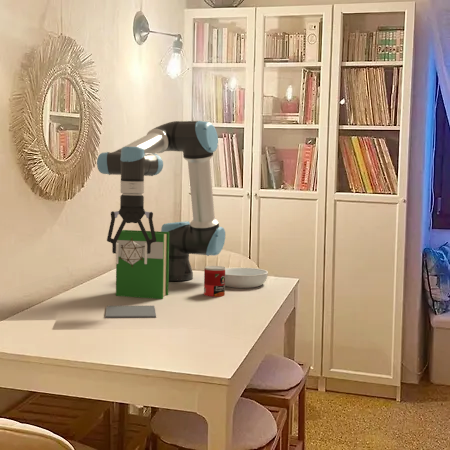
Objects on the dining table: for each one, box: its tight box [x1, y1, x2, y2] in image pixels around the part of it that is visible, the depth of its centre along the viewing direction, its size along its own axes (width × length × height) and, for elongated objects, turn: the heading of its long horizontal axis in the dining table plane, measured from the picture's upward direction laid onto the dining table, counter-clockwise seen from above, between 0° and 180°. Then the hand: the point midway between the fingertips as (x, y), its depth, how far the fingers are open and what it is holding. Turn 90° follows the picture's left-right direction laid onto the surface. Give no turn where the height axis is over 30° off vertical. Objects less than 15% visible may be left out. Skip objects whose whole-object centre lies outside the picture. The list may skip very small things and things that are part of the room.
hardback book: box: [115, 229, 169, 300], centre depth 260 cm, size 18×7×24 cm, turn 78°
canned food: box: [203, 265, 226, 298], centre depth 264 cm, size 8×8×11 cm
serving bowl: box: [225, 267, 269, 289], centre depth 284 cm, size 21×21×7 cm
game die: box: [118, 238, 145, 267], centre depth 232 cm, size 9×8×10 cm
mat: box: [104, 305, 157, 319], centre depth 234 cm, size 16×16×1 cm
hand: (131, 263), depth 233 cm, fingers closed on game die, 9 cm apart
